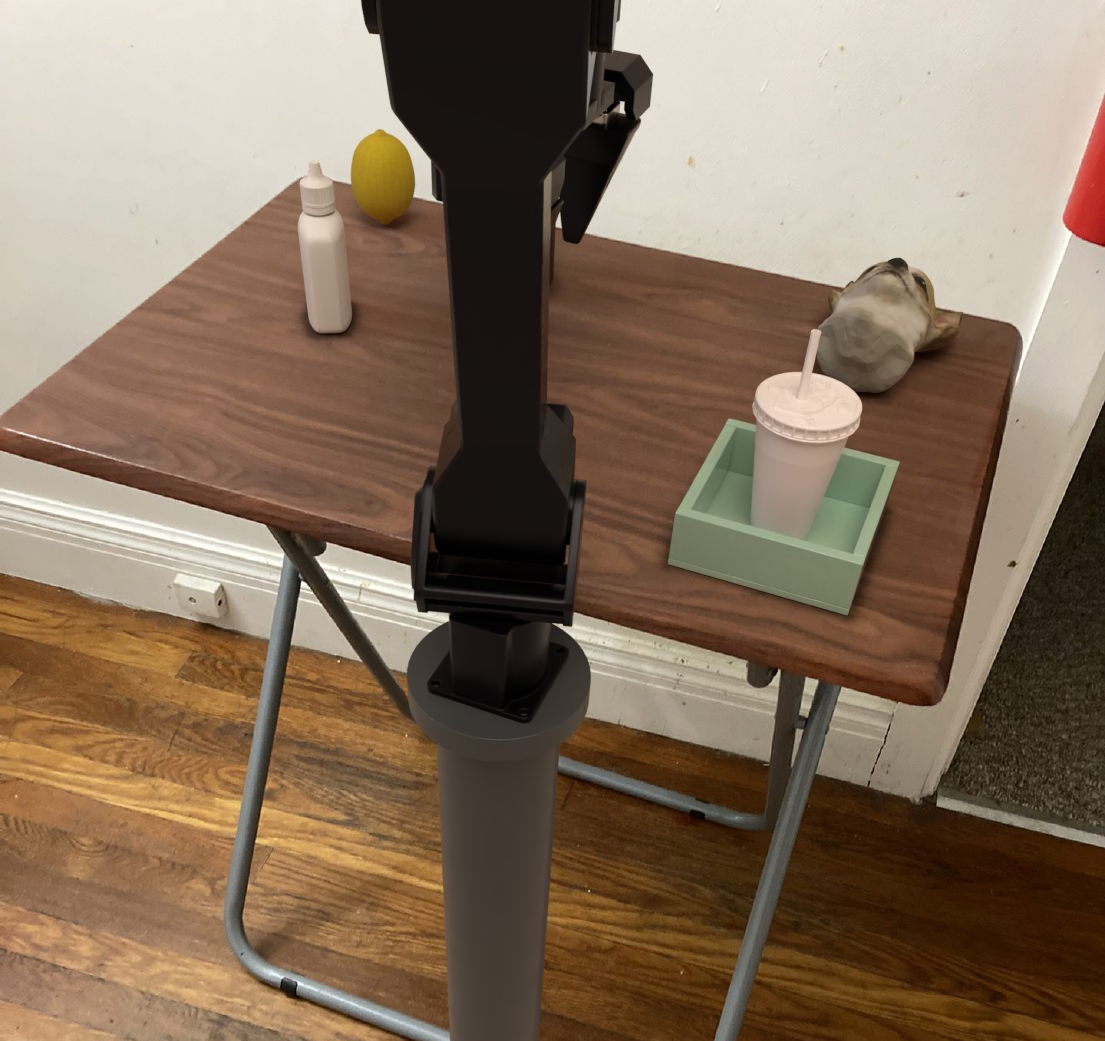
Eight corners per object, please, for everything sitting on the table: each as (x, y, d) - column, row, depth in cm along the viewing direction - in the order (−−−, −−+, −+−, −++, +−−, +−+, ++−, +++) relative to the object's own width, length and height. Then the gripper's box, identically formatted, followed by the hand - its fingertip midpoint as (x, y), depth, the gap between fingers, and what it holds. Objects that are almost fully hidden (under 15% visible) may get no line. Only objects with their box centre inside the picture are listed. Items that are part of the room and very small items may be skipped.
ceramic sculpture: (799, 270, 82) (862, 207, 92) (773, 383, 88) (835, 313, 98) (946, 313, 79) (995, 243, 89) (908, 426, 85) (958, 349, 95)
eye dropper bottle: (371, 308, 94) (359, 153, 85) (337, 340, 90) (321, 182, 81) (324, 297, 95) (307, 142, 86) (288, 328, 91) (267, 170, 82)
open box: (847, 616, 71) (863, 564, 68) (667, 564, 74) (675, 512, 71) (884, 511, 78) (900, 461, 75) (719, 468, 81) (728, 417, 78)
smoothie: (712, 511, 77) (748, 310, 66) (798, 494, 78) (845, 296, 68) (757, 570, 73) (802, 367, 62) (846, 551, 74) (904, 350, 64)
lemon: (382, 205, 107) (377, 112, 101) (429, 223, 105) (426, 129, 99) (341, 225, 104) (333, 130, 98) (388, 244, 102) (382, 148, 96)
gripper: (488, -83, 68) (487, 189, 79) (328, 4, 56) (354, 309, 68) (668, -54, 65) (641, 223, 77) (541, 43, 54) (531, 354, 65)
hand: (544, 272), depth 72 cm, fingers open, 9 cm apart
